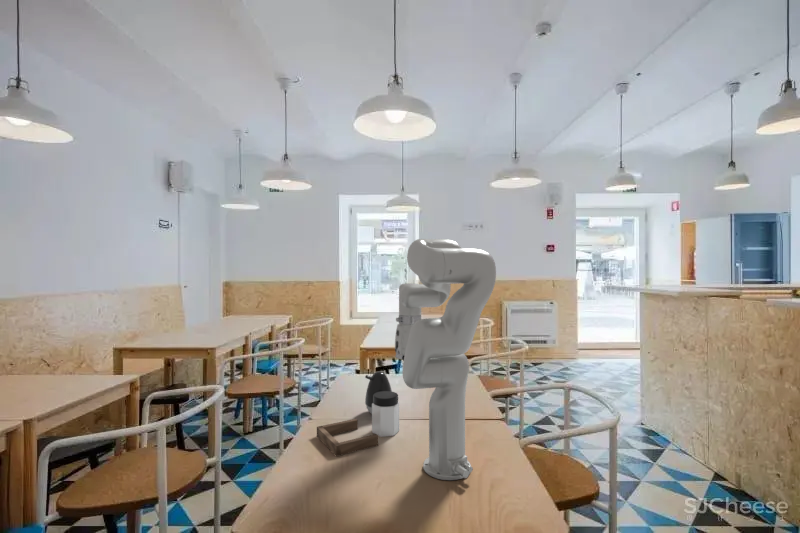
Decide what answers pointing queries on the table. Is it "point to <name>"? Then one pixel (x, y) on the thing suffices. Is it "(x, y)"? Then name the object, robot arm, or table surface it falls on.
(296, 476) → the table surface
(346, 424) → the walnut bay
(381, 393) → the jar
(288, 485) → the table surface
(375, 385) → the pump dispenser
